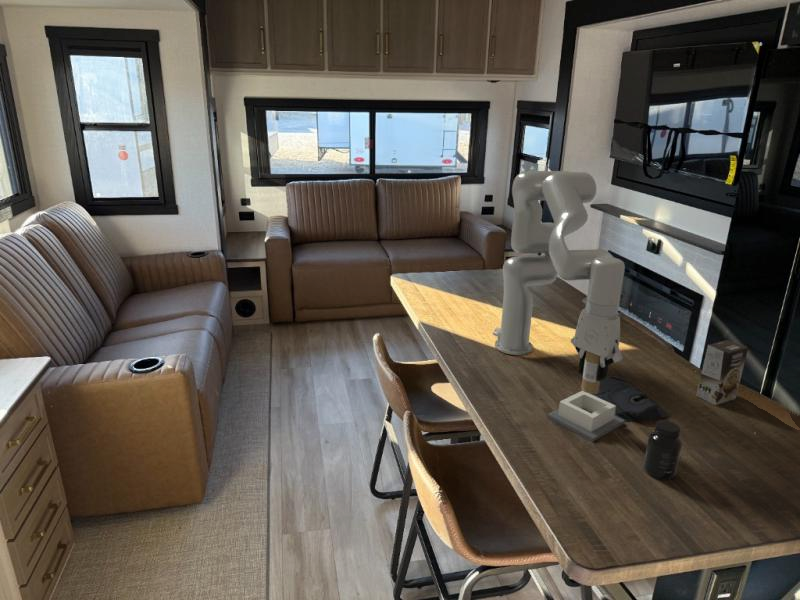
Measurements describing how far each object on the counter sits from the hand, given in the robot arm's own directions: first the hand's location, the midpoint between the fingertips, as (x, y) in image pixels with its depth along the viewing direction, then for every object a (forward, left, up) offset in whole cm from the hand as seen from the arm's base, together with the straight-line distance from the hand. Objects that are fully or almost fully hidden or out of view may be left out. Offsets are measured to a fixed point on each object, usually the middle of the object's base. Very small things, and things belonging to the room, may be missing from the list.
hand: (592, 374), depth 145 cm
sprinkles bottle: (0, 0, -5) cm, 5 cm away
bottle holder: (0, 0, -13) cm, 13 cm away
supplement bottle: (+23, -5, -14) cm, 27 cm away
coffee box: (+15, +41, -14) cm, 46 cm away
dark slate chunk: (0, +18, -14) cm, 23 cm away
